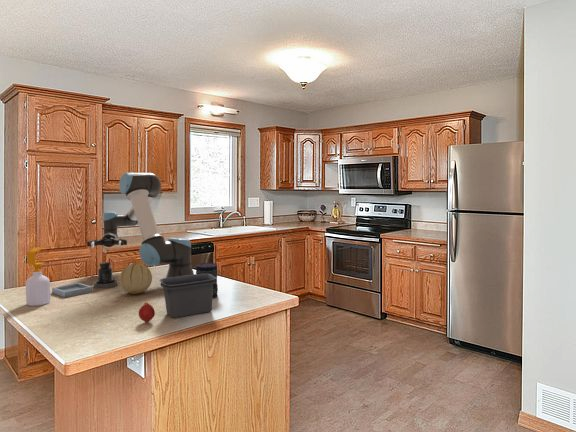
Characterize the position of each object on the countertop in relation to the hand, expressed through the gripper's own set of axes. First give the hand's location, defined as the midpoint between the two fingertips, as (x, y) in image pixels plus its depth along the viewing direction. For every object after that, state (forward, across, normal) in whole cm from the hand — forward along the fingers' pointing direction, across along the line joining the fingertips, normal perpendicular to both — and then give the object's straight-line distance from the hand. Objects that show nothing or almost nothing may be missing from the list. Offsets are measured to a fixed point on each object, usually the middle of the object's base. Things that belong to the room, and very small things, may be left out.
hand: (106, 245), depth 225 cm
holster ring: (+10, 0, -20) cm, 22 cm away
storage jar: (+47, -47, -19) cm, 69 cm away
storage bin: (+69, -36, -19) cm, 80 cm away
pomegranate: (+78, -20, -19) cm, 82 cm away
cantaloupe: (+31, -16, -19) cm, 40 cm away
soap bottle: (+36, +25, -20) cm, 48 cm away
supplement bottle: (+10, 0, -20) cm, 22 cm away
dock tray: (+20, +14, -20) cm, 31 cm away
